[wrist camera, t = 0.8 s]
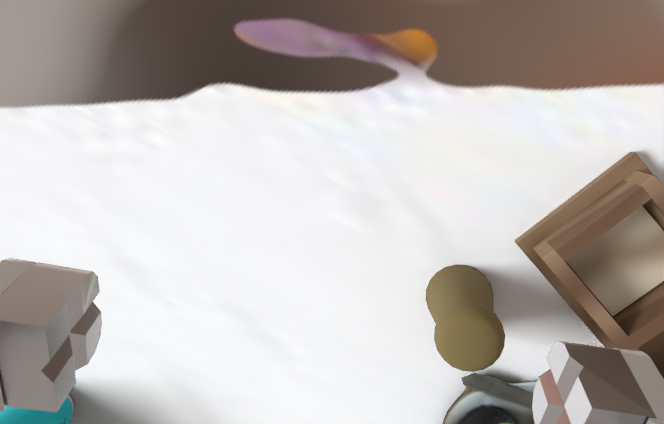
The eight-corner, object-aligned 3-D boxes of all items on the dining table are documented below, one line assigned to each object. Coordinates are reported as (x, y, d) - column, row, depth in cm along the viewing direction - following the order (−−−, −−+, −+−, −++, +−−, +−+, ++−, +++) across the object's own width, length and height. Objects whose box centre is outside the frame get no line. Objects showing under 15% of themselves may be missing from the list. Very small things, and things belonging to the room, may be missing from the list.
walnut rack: (791, 345, 49) (832, 372, 45) (669, 422, 52) (696, 455, 47) (630, 152, 48) (654, 157, 43) (514, 240, 51) (525, 255, 46)
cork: (503, 313, 52) (527, 367, 42) (441, 337, 54) (449, 395, 43) (477, 254, 52) (494, 293, 41) (415, 279, 53) (416, 324, 42)
